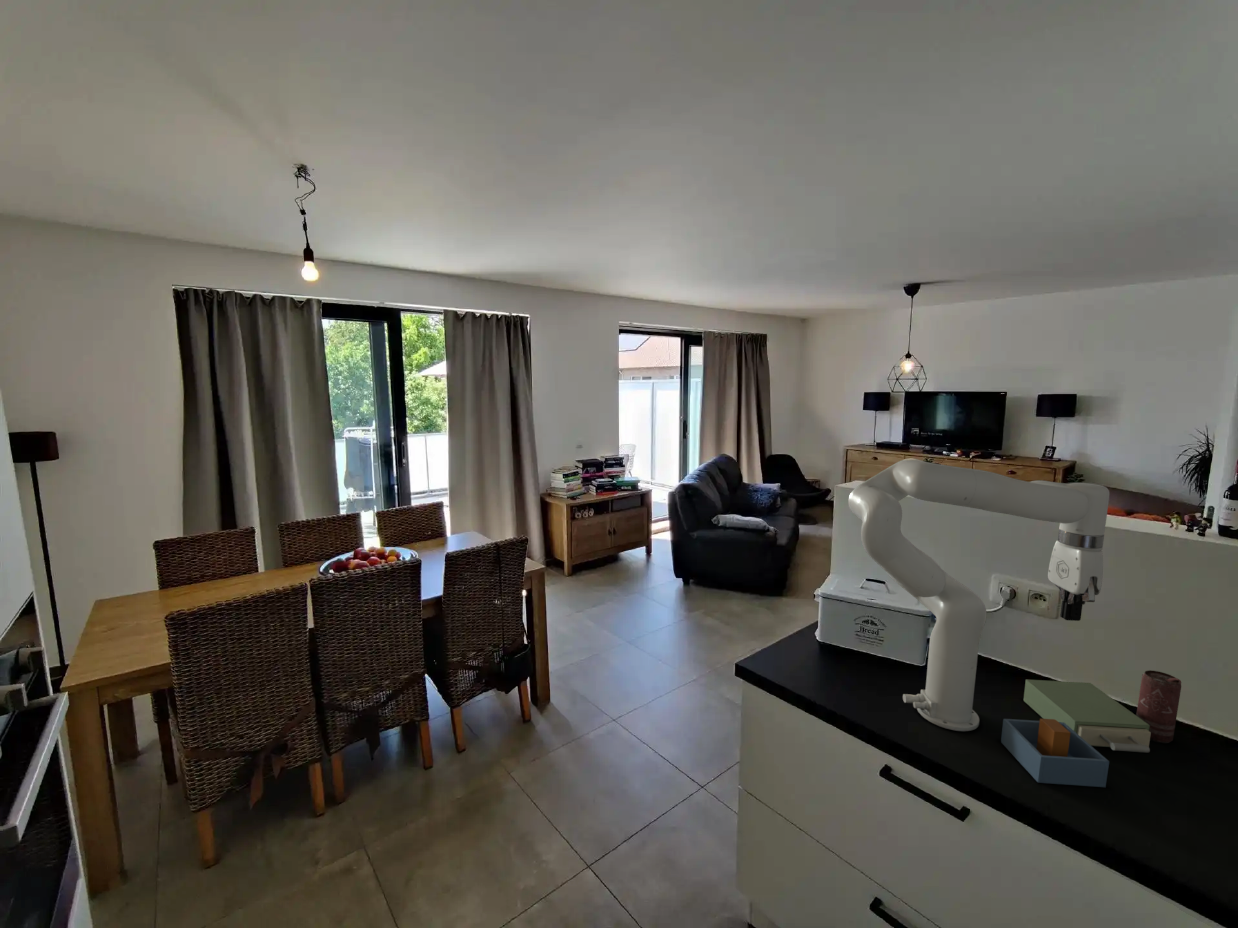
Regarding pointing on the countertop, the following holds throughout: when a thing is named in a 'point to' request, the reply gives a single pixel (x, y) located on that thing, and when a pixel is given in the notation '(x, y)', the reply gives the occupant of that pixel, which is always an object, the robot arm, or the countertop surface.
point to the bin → (1071, 770)
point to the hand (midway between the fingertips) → (1070, 618)
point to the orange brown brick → (1052, 738)
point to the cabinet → (1078, 705)
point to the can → (1159, 704)
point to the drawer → (1116, 737)
